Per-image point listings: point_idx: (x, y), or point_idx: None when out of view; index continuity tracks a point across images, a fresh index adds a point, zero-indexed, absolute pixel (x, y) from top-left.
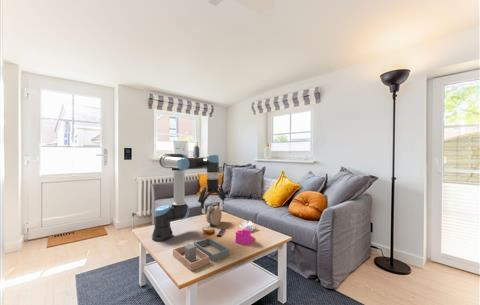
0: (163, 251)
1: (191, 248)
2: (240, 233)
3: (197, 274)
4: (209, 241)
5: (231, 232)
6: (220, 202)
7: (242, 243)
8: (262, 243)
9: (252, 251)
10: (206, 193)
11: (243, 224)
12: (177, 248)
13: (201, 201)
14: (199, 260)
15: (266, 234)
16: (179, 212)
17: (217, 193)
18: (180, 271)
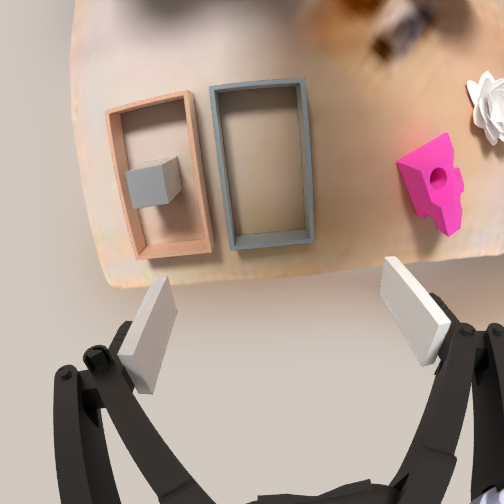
0: (99, 61)
1: (146, 206)
2: (428, 193)
3: None
4: (298, 92)
5: (439, 67)
6: (416, 319)
7: (408, 189)
8: None
9: None
10: (162, 496)
11: (498, 91)
12: (123, 109)
13: (96, 411)
14: (168, 256)
15: (501, 188)
16: None
17: (408, 456)
18: (116, 233)
